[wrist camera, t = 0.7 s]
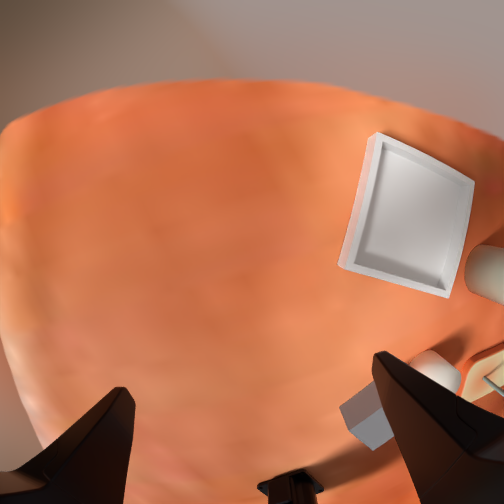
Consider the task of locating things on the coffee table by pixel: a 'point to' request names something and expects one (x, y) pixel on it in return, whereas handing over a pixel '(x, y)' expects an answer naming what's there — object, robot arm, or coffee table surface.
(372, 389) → the grey block
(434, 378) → the white rounded cylinder
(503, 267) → the pale green cylinder
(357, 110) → the coffee table surface
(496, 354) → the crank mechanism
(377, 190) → the white tray
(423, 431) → the robot arm
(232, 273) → the coffee table surface
